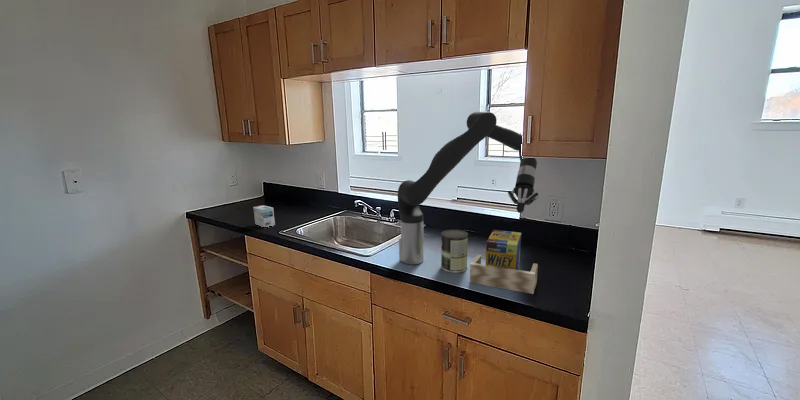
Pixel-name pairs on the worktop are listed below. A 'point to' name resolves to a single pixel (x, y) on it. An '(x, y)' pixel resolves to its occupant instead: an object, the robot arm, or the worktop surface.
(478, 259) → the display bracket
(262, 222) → the light bulb box
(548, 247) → the worktop surface
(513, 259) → the protein box
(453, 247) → the coffee can
